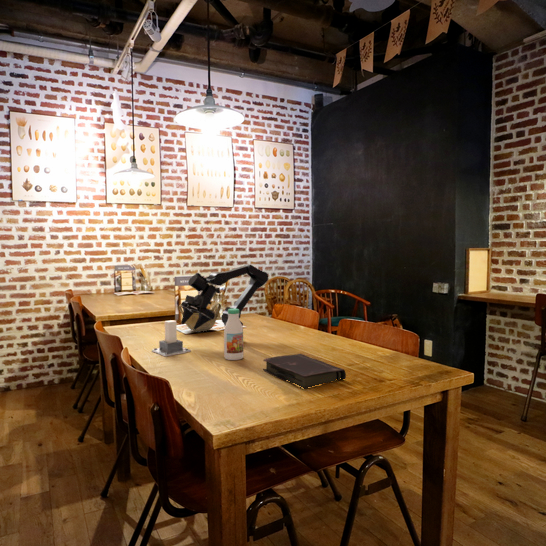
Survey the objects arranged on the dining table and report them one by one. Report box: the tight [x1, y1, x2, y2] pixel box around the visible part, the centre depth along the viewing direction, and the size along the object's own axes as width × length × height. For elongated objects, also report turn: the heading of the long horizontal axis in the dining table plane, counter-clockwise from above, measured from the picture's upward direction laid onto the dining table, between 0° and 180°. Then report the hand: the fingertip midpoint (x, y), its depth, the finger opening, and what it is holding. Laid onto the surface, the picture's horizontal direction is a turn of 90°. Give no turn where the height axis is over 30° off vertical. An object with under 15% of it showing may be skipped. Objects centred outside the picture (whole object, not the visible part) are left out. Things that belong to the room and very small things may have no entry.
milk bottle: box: [223, 309, 244, 361], centre depth 173 cm, size 8×8×20 cm
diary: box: [262, 353, 347, 390], centre depth 151 cm, size 19×25×5 cm
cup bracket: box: [151, 339, 191, 357], centre depth 184 cm, size 12×12×4 cm
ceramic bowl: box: [178, 302, 222, 333], centre depth 228 cm, size 22×17×15 cm
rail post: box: [164, 319, 178, 343], centre depth 184 cm, size 4×4×12 cm
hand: (188, 326), depth 192 cm, fingers open, 9 cm apart
